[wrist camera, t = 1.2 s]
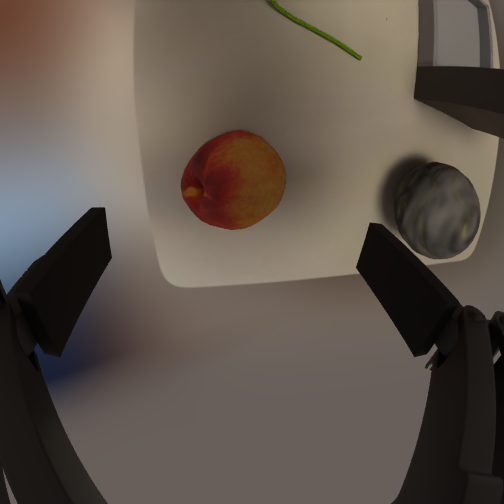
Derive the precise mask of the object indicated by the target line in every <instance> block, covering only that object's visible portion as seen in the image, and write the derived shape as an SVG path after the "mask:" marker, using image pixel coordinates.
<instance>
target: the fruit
mask: <svg viewBox="0 0 504 504" xmlns="http://www.w3.org/2000/svg"><path fill="white" fill-rule="evenodd" d="M285 184H286V172H285V168H284V165H283V163H282V160H281V159H280V157H279V155H278V154H277V152H276V151H275V150H274V149H273V148H272V147H271V146H270V145H269V144H268V143H267V142H266V141H265V140H264V139H263V138H261V137H259V136H257V135H255V134H252V133H250V132H246V131H242V130H238V131H231V132H227V133H224V134H222V135H220V136H218V137H216V138H214V139H212V140H210V141H208V142H206V143H205V144H204V145H203V146H202V147H200V148H199V149H198V151H197V152H196V153H195V155H194V156H193V157H192V158H191V159H190V161H189V163H188V164H187V166H186V168H185V170H184V173H183V176H182V180H181V190H182V196H183V199H184V201H185V202H186V204H187V205H188V207H189V208H190V210H191V211H192V212H193V213H194V214H195V215H196V216H197V217H198V218H199V219H200V220H201V221H203V222H205V223H207V224H209V225H212V226H216V227H220V228H224V229H230V230H234V229H244V228H247V227H250V226H252V225H254V224H256V223H257V222H259V221H260V220H262V219H263V218H265V217H266V216H267V215H269V214H270V213H271V212H272V211H273V210H274V209H275V208H276V207H277V205H278V204H279V202H280V200H281V198H282V196H283V192H284V189H285Z"/></svg>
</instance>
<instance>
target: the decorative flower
mask: <svg viewBox="0 0 504 504" xmlns="http://www.w3.org/2000/svg"><path fill="white" fill-rule="evenodd" d="M270 1H271V2H272V4H273V5H274V6H275V8H276V9H277V10H279V11H280V12H281V13H283V14H284V15H286V16H287V17H288V18H290V19H291V20H293V21H295V22H297V23H299V24H301V25H303V26H304V27H306V28H308V29H310V30H312V31H314V32H316V33H318V34H320V35H322V36H323V37H325V38H327V39H329V40H331V41H332V42H334V43H336V44H337V45H339V46H340V47H342V48H343V49H345V50H346V51H348V52H349V53H350V54H352V55H353V56H355V57H356V58H357V59H359V60H361V59H362V57H361V56H360V55H358V54H357V53H356V52H354V51H353V50H352V49H350V48H349V47H347V46H346V45H344V44H343V43H341V42H340V41H338V40H337V39H335V38H333V37H331V36H330V35H328V34H326V33H324V32H322V31H321V30H319V29H317V28H315V27H313V26H311V25H309V24H307V23H305V22H303V21H302V20H300V19H298V18H296V17H294V16H292V15H291V14H290V13H288V12H287V11H286V10H284V9H283V8H281V7H280V6H279V5H278V4H277V2H276V1H275V0H270Z"/></svg>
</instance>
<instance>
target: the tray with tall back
mask: <svg viewBox="0 0 504 504" xmlns="http://www.w3.org/2000/svg"><path fill="white" fill-rule="evenodd" d="M417 66H418V67H417V78H416V87H415V95H414V99H416V100H419V101H421V102H423V103H425V104H427V105H430V106H432V107H434V108H436V109H438V110H440V111H442V112H444V113H446V114H448V115H450V116H451V117H453V118H455V119H457V120H459V121H461V122H462V123H464V124H466V125H468V126H469V127H471V128H473V129H476V130H479V131H482V132H486V133H489V134H492V135H495V136H498V137H501V138H504V70H503V69H495V68H493V45H492V30H491V21H490V13H489V6H488V5H487V4H486V3H484V2H483V1H482V0H419V51H418V65H417Z"/></svg>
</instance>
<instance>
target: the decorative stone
mask: <svg viewBox="0 0 504 504" xmlns="http://www.w3.org/2000/svg"><path fill="white" fill-rule="evenodd" d="M480 213H481V212H480V203H479V199H478V196H477V194H476V191H475V189H474V187H473V185H472V183H471V182H470V180H469V179H468V178H467V177H466V176H465V175H463V174H462V173H461V172H460V171H459V170H458V169H456V168H455V167H453V166H450V165H447V164H443V163H438V162H432V163H427V164H423V165H419V166H418V167H416V168H414V169H413V170H412V171H410V172H409V173H408V174H407V175H406V176H405V177H404V179H403V180H402V181H401V183H400V185H399V187H398V189H397V192H396V196H395V201H394V214H395V221H396V224H397V227H398V229H399V232H400V234H401V236H402V238H403V239H404V240H405V241H406V242H407V244H408V245H409V246H410V247H411V248H412V249H413V250H414V251H415V252H417V253H419V254H421V255H423V256H426V257H428V258H431V259H448V258H451V257H454V256H456V255H458V254H460V253H461V252H463V251H464V250H465V249H466V248H467V247H468V246H469V245H470V244H471V242H472V241H473V239H474V237H475V235H476V233H477V231H478V228H479V224H480Z"/></svg>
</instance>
